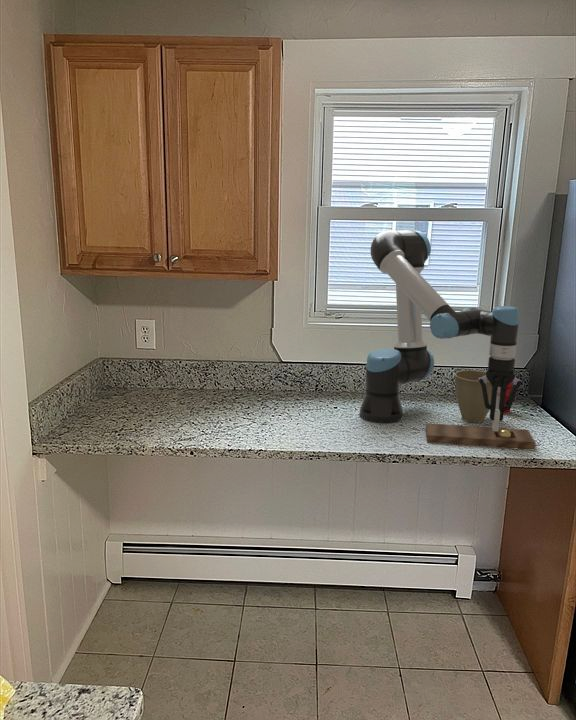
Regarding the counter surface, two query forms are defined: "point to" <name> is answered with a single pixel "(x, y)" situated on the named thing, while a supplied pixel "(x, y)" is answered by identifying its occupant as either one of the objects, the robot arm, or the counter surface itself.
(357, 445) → the counter surface
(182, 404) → the counter surface
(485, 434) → the board
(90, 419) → the counter surface
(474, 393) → the plant pot
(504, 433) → the brass ball
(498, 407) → the beverage can
